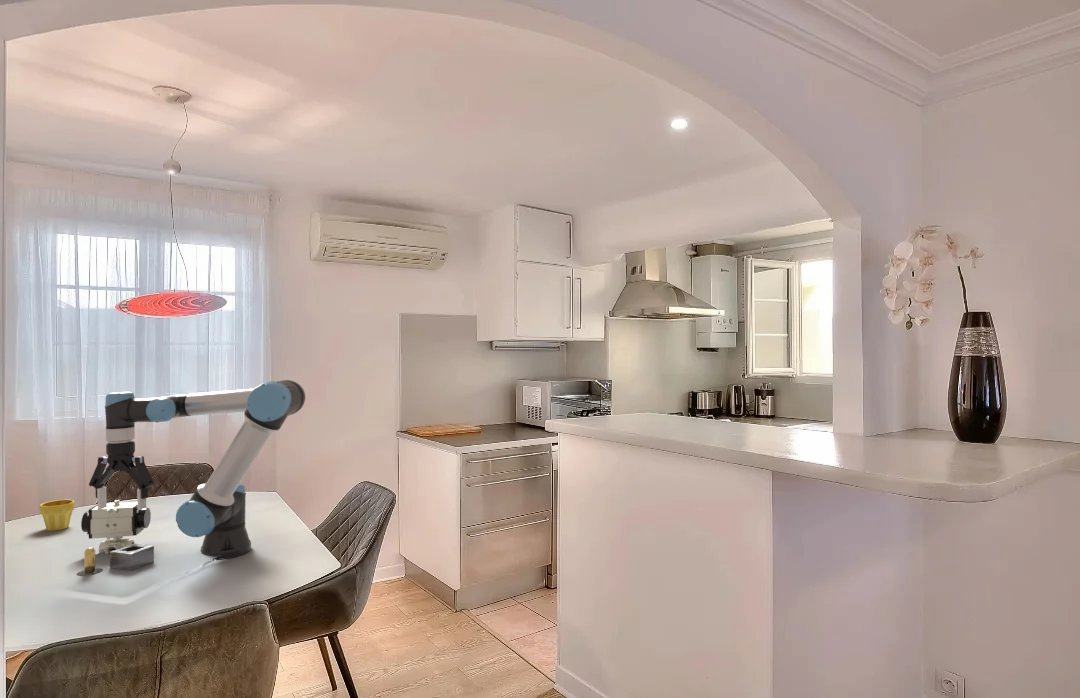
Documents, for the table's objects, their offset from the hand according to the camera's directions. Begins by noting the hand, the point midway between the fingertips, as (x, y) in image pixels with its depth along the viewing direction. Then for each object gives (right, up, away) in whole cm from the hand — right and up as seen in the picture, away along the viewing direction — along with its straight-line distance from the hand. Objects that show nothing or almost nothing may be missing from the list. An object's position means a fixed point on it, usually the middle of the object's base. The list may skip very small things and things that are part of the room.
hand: (122, 508), depth 193 cm
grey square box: (+5, -17, -3) cm, 18 cm away
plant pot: (-52, -18, +40) cm, 68 cm away
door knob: (-4, -18, -9) cm, 21 cm away
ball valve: (-10, -18, +11) cm, 24 cm away
